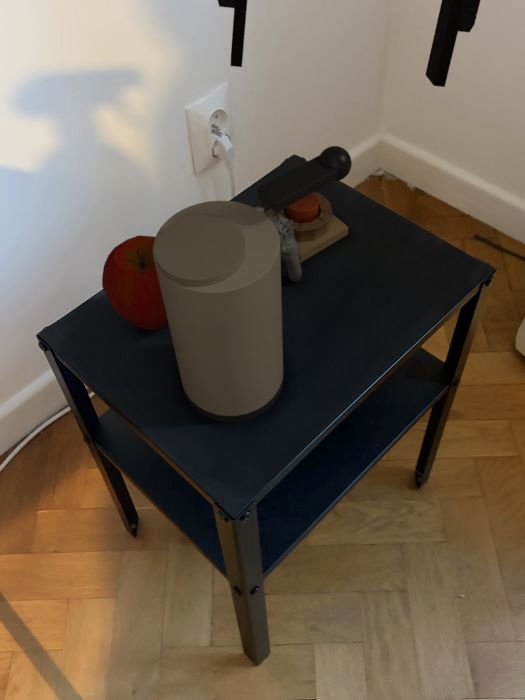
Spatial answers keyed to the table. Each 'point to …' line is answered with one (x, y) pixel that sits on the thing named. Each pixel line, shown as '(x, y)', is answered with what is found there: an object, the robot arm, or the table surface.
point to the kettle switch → (306, 178)
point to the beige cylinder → (223, 306)
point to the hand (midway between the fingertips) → (336, 71)
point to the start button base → (316, 229)
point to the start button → (304, 209)
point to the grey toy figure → (287, 245)
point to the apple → (135, 283)
